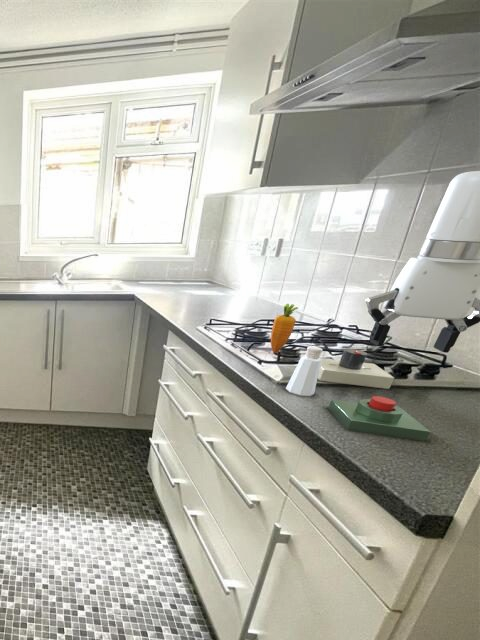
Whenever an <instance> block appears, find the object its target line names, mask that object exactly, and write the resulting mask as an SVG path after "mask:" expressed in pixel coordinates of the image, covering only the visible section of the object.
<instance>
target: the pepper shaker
mask: <svg viewBox="0 0 480 640" xmlns="http://www.w3.org/2000/svg"><path fill="white" fill-rule="evenodd" d="M322 353H323V348H322V347H319V346H316V345H315V346H314V345H311V346H310V345H309V346H307V347H306V351H305V355H303V356H301V357H300V359H299V360H298V363H297V364H296V366H295V368H294V371H293V373H292V375H291V377H290V379H289V380H288V383H287V385H286V387H285V390H286V391H288V392H289V393H291V394H294V395H297V396H301V397H311V396H313V395H315V391H316V386H317V383H318V380H319V379H318V374H319V370H320V366H321V361H322V360H321V359H319V358H321V355H322Z"/></svg>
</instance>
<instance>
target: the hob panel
mask: <svg viewBox="0 0 480 640" xmlns="http://www.w3.org/2000/svg"><path fill="white" fill-rule="evenodd" d="M319 359H321V360H322V361H321V366H320V370H319V374H318V379H317V380H318V381H321V382H328V383H336V384H345V385H353V386H360V387H370V388H377V389H385V390H390V388H391V386H392V384H393V382H394V380H395V377H394V376H392V375H391V374H390V373H388V372H387V371H386V370H384V369H382V368H381V367H379V366H378V365H377V364H375V363H370V362H364V363H363V365H362V368H361V369H359V370H355V369H348V368H344V367H342V366H340V365H339V362H340V359H333V358H325V357H324V358H323V357H319Z"/></svg>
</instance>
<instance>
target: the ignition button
mask: <svg viewBox="0 0 480 640" xmlns="http://www.w3.org/2000/svg"><path fill="white" fill-rule="evenodd" d="M370 399H371V400H370V402H369V406H371V407H373V408H376V409H380V410H384V411H393V409H394V407H395V406H397V402H396V401H395V400H393V399H391V398H388V397H384V396H378V395H375V396H371V398H370Z"/></svg>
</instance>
